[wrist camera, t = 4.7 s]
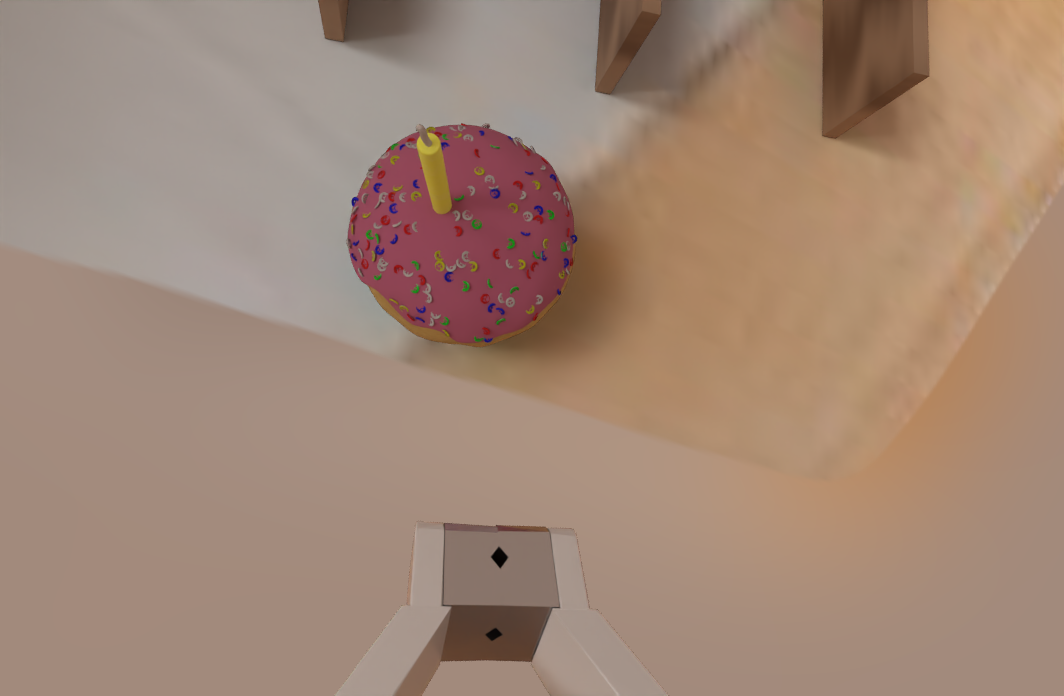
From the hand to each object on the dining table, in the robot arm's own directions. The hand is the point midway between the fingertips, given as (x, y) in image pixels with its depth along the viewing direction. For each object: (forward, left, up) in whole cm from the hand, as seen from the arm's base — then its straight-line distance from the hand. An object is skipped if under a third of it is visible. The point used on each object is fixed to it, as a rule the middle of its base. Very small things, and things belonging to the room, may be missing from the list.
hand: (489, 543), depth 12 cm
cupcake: (+8, +6, -15) cm, 18 cm away
